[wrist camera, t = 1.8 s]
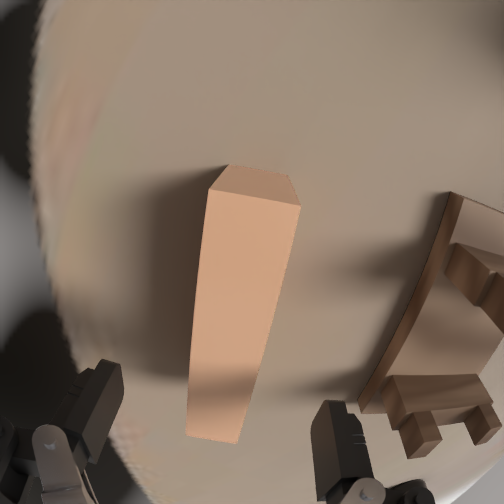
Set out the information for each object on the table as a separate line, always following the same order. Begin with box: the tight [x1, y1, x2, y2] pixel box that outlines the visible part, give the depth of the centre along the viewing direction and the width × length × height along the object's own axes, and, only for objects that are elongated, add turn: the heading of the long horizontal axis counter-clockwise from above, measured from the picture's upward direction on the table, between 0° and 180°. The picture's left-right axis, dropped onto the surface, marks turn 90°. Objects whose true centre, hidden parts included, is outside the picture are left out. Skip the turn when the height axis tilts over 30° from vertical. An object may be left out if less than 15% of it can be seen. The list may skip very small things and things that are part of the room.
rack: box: [358, 191, 504, 459], centre depth 15 cm, size 17×10×8 cm, turn 170°
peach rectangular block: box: [186, 165, 301, 444], centre depth 15 cm, size 14×3×6 cm, turn 170°
